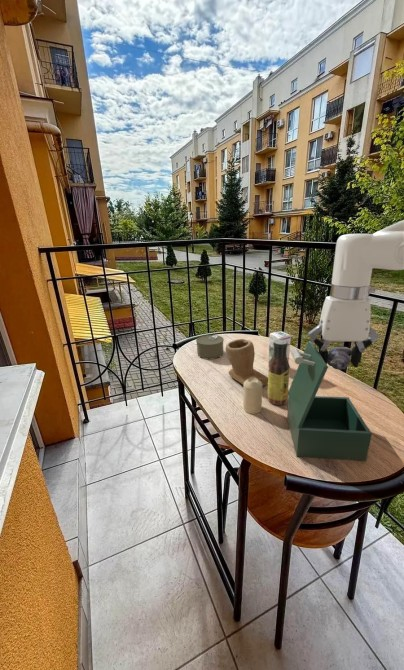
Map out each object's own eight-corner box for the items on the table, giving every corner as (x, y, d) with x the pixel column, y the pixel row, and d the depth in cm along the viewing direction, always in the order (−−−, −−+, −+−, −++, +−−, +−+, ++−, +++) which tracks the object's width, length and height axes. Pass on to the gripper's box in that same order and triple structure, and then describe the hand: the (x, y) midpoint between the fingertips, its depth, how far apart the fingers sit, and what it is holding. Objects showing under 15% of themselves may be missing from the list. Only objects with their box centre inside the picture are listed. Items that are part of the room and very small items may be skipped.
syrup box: (289, 369, 108) (291, 334, 103) (277, 373, 106) (279, 337, 101) (279, 364, 113) (281, 330, 108) (267, 367, 110) (269, 333, 105)
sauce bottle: (286, 407, 85) (291, 347, 78) (265, 404, 87) (268, 345, 80) (287, 396, 91) (292, 339, 84) (268, 393, 93) (271, 337, 86)
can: (191, 355, 124) (190, 341, 121) (206, 346, 133) (206, 333, 131) (214, 361, 117) (213, 346, 115) (228, 351, 126) (228, 337, 124)
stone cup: (220, 375, 106) (219, 338, 100) (246, 368, 111) (246, 332, 105) (243, 394, 93) (243, 353, 88) (271, 385, 98) (273, 345, 93)
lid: (311, 341, 72) (291, 335, 72) (328, 367, 58) (302, 360, 58) (290, 394, 78) (271, 389, 78) (300, 428, 64) (277, 422, 64)
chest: (344, 421, 78) (348, 397, 76) (366, 461, 65) (371, 433, 62) (287, 418, 80) (288, 395, 78) (296, 456, 67) (299, 429, 64)
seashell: (335, 361, 74) (335, 380, 66) (323, 345, 74) (322, 362, 65) (355, 352, 71) (357, 371, 63) (343, 335, 71) (343, 352, 62)
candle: (259, 415, 82) (261, 385, 79) (241, 411, 84) (241, 382, 81) (262, 404, 87) (264, 376, 84) (245, 401, 89) (245, 373, 86)
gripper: (383, 288, 65) (370, 358, 71) (305, 289, 67) (299, 357, 74) (399, 295, 58) (383, 372, 64) (312, 296, 60) (304, 370, 67)
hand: (338, 363), depth 69 cm, fingers closed on seashell, 6 cm apart
